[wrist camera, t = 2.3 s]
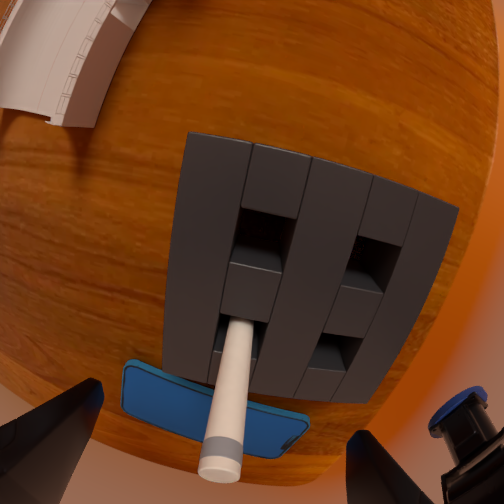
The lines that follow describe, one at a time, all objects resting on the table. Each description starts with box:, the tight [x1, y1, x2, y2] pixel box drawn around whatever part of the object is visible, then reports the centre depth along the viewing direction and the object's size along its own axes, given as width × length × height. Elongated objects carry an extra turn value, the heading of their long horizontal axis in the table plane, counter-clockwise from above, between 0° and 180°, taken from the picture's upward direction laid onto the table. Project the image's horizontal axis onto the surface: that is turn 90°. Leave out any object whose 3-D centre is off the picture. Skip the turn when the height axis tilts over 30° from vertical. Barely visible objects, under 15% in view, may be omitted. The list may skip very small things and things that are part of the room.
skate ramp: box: [0, 0, 152, 128], centre depth 8 cm, size 15×13×5 cm
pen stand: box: [162, 132, 459, 404], centre depth 14 cm, size 12×12×4 cm
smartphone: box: [121, 359, 310, 459], centre depth 20 cm, size 7×1×15 cm
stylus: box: [198, 316, 254, 483], centre depth 11 cm, size 1×1×11 cm
